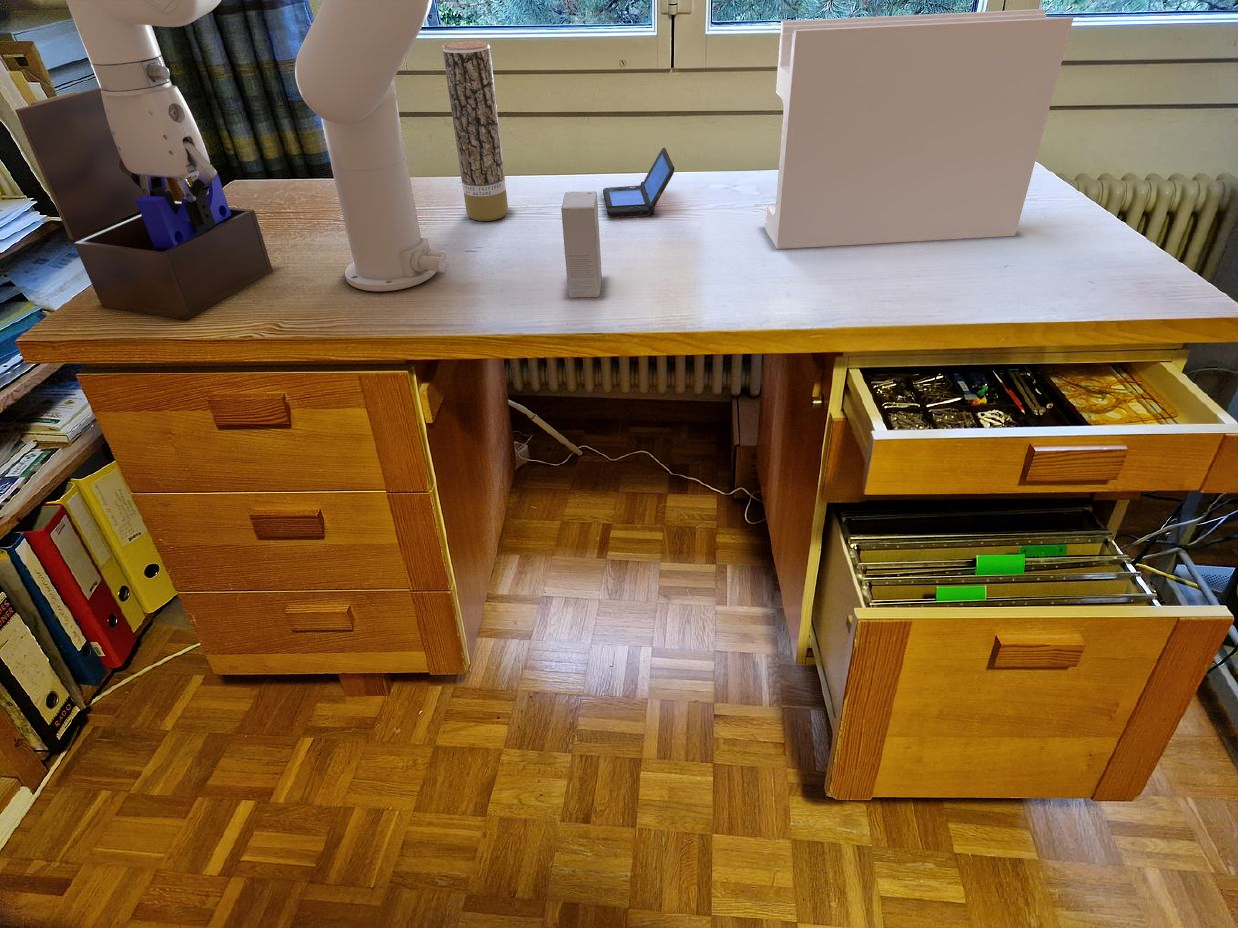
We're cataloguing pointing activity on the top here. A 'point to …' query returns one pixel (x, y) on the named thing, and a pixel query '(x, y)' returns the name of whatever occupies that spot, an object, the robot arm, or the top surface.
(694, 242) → the top surface
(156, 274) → the keepsake box
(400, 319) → the top surface
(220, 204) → the blue notched block
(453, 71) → the paper tube
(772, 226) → the block
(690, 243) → the top surface
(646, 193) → the handheld game console
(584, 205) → the cosmetic box
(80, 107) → the lid
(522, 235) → the top surface
